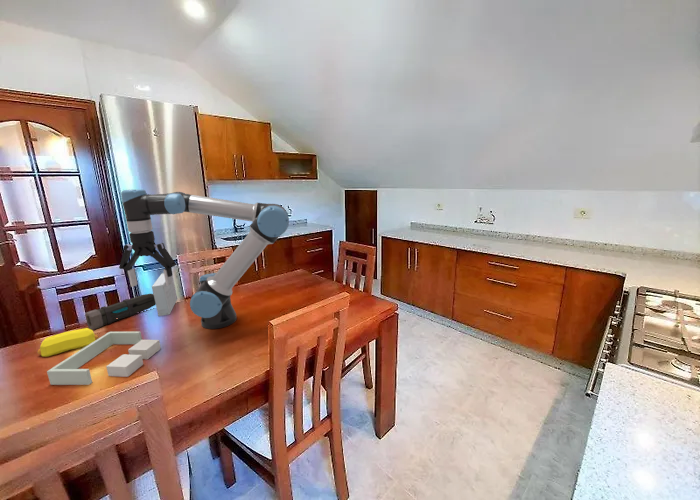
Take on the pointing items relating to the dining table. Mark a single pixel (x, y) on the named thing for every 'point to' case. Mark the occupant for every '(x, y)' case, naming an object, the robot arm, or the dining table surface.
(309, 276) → the dining table surface
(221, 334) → the dining table surface
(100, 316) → the black handheld tool
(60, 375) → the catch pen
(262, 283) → the dining table surface
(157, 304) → the skincare box
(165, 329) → the dining table surface
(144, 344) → the tile
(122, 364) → the tile
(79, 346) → the yellow bevelled bar
